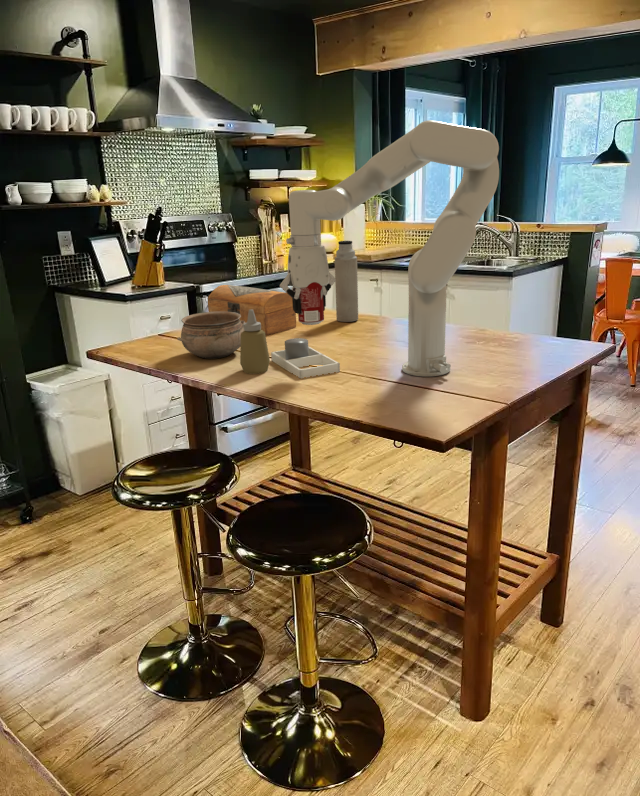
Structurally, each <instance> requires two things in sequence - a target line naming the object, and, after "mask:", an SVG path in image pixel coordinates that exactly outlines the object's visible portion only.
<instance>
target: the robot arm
mask: <svg viewBox="0 0 640 796" xmlns="http://www.w3.org/2000/svg"><path fill="white" fill-rule="evenodd" d="M499 150H500V146H499V142H498V139H497V138H496V135H494V133H492V132H491V131H490V130H488V129H487V130H486V129H484V128H483V129H482V128H477V127H471V126H470V127H469V126H464V125H458V124H453V123H447V122H443V121H438V120H432V119H429V120H424V121H422V122H420V123H418V124H417V125H416V126H415V127H414V128H412V129H411V130H410V131H408V132H406V133H405V134H403V136H401V137H399V138H398V139H396V140H395V141H394V142H392V143H390V144H389V145H388V146H386V147H384V148H383V149H382V150H380V151H379V152H377V153H376V154H374V155H373V156H372V157H371V158H369V160H367V162H366V163H365V164H364V165H362V166H361V167H360V168H359V169H357V170H356V171H355V172H353V173H352V174H350V175H349V176H348V177H346V178H344V180H342V181H340V182H339V183H338V184H335V185H334V186H333V187H330V188H329V189H323V190H314V189H300V190H293V191H291V192H290V193H289V196H288V205H289V208H288V209H289V222H290V223H289V224H290V235H289V236H290V237H288V238H285V240H286V241H285V243H286V244H287V245H290V246H291V247H289V249H288V255H287V256H288V257H287V274H286V276H285V277H284V279H283V280H282V282H280V284H279V288H281V289H282V291H284V293H287V294H288V295H290V296H291V297H292V302H293V310H294V312H295V313H296V315H298V314H301V299H299V294H300V291H301V288H306V287H307V286H308V285H309V284H311V283H313V282H317V283H319V284H320V285H321V286H323V307H324V312H325V310H326V308H325V307H326V306H327V301H326V300H327V299H326V296H327V295H328V292H329V291H330V289H331V288H332V286H333V285H334V284H335V281H336V279H335V276H333V274H331V272H330V269H329V263H328V262H329V261H328V255H327V251H326V247H325V245H322V236H321V234H322V233H321V232H322V231H321V220H324V221H333V222H334V221H339V220H341V219H343V218H344V217H346V215H347V214H349V213H350V212H352V211H354V210H355V209H356V208H358V207H359V206H361V205H362V204H364V203H365V202H367V201H368V200H370V199H371V198H373V197H375V196H376V195H378V194H381V193H383V192H385V191H388V190H390V189H392V188H393V187H395V186H397V185H398V184H399V183H401V182H402V181H404V180H405V179H407V178H408V177H409V176H412V175H413V174H414V173H415V172H417V171H419V170H420V169H422V168H424V167H426V166H427V165H428V164H430V163H431V162H432V163H435V164H441V165H446V166H452V167H456V168H462V177H461V180H460V181H459V184H458V186H457V188H456V189H455V191H454V193H453V195H452V197H451V198H450V199H449V201H448V203H447V205H446V206H445V207H444V209H443V210H442V212H441V214H440V215H439V216H438V217H437V218H436V219H435V222H434V223H433V227H432V228H433V229H432V232H431V234H430V236H429V238H428V239H427V240H426V242H425V243H424V246H423V247H422V248H420V249H419V250H418V251H416V252H415V253H414V254H413V255H412V256H411V258H410V260H409V263H408V268H407V269H408V270H407V272H408V273H407V276H408V277H407V278H408V313H407V314H408V321H407V322H408V326H407V329H408V331H407V332H408V333H407V334H408V336H407V339H408V340H407V346H408V347H407V348H408V349H407V356H408V357H407V361H406V362H404V363H402V367H401V370H402V372H404V373H405V374H407V375H410V376H415V377H423V378H424V377H425V378H426V377H439V376H443V375H446V374H448V373H449V372H450V371H451V363H448V362H447V356H446V327H447V326H446V322H447V321H446V320H447V318H446V317H447V284H448V283H449V282H450V280H451V279H452V277H453V276H454V274H455V273H456V271H457V270H458V268H459V267H460V265H461V264H462V262H463V261H464V259H465V257H466V256H467V254H469V253H468V252H469V251H470V250H471V249H472V246H473V244H474V242H475V239H476V236H477V227H476V225H477V224H478V223H479V221H480V219H481V218H482V216H483V214H484V212H485V211H486V209H487V207H488V205H489V204H490V203H491V201H492V199H493V198H494V195H495V193H496V191H497V187H498V184H499V179H500V168H499V166H500V165H499V160H498V156H499ZM288 285H289V286H290V287H292V288H290V287H289V286H288Z"/></svg>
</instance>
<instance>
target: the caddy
mask: <svg viewBox="0 0 640 796" xmlns="http://www.w3.org/2000/svg"><path fill="white" fill-rule="evenodd" d="M270 353H271V357H270V358H271V361H272V362H273V363H275V364H276V365H278V366H280V367H281V368H283V369H285V370H286V371H287V372H289V373H291V374H292V373H293V374H292V375H294V376H295V375H296V377H297V376H298V377H297V378H299V379H305V378H304V377H306V378H310V376H312V377H317V376H316V375H318V376H323V375H322V374H324V375H329V374H328V373H330V374H335V373H334V372H336V373H340V372H341V366H340V364H341V363H340V362H338V361H337V360H334V359H333V358H331V357H329V356H327V355H325V354H324V353H322V352H320V351H318V350H316V349H314V348H312V347H311V346H309V340H308V339H306V338H300V337H298V338H297V337H295V338H289V339H286V340H285V341H284V349H282V350H277V351H271V352H270ZM309 365H323V366H317V367H305V368H303V366H309ZM301 368H302V369H301Z"/></svg>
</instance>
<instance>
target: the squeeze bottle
mask: <svg viewBox="0 0 640 796" xmlns="http://www.w3.org/2000/svg"><path fill="white" fill-rule="evenodd" d="M243 327H244V330H245V331H243V332H242V333H241V346H240V347H239V349H240V350H239V351H240V353H239V354H240V355H239V357H240V358H239V359H240V361H239V362H240V363H239V364H240V366H241V368H242V370H243V372H244V373H245V374H248V375H249V374H250V375H258V374H264V373H266V372H267V371H268V369H269V365H270V361H271V360H270V359H271V358H270V353H269V348H268V341H267V335H265V332H264V331H263V330H260V329H261V323H260V322H257V321H256V318H255V314H254V311H253V310H249V312H248V320H247V323H244V324H243Z"/></svg>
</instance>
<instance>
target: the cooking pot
mask: <svg viewBox="0 0 640 796" xmlns="http://www.w3.org/2000/svg"><path fill="white" fill-rule="evenodd" d="M240 317H241V315H240V314H238V313H235V312H226V311H215V312H209V311H206V312H205V311H204V312H198V313H193V314H190V315H187V316H184V317H182V318H181V323H183V325H182V327H181V332H180V337H177V341H179V342H181V343H182V346H183V347H184V349H186V351H188V352H189V353H190V354H192V355H194V356H196V357H199V358H202V359H206V360H207V359H209V360H211V359H212V360H215V359H221V358H225V357H229V356H231V355H232V354H233V353H234V352H236V351H237V350H239V349H240V346H241V333H242V332H243V331H244V327H243V324H244V323H245V321H240V320H239V319H240ZM242 323H243V324H242Z"/></svg>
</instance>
